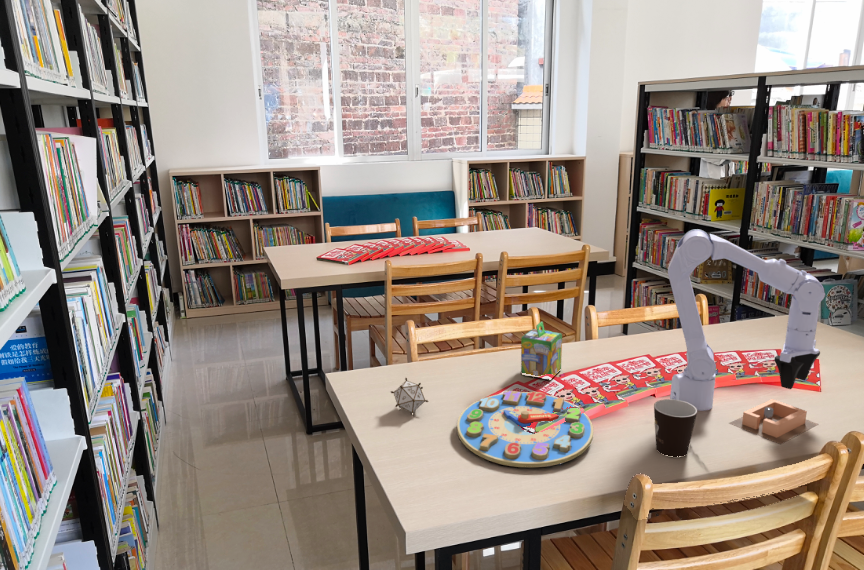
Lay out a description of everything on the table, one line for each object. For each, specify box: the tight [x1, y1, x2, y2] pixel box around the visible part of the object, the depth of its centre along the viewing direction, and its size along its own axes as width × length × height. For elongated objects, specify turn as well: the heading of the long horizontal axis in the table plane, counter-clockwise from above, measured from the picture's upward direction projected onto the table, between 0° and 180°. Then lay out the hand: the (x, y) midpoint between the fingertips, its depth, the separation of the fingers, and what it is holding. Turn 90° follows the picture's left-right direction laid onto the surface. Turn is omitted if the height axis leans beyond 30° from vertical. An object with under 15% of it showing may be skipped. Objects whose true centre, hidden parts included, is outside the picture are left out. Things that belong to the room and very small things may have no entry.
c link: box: [742, 398, 808, 438], centre depth 144 cm, size 12×8×3 cm, turn 123°
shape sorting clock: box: [456, 390, 594, 468], centre depth 143 cm, size 31×30×6 cm
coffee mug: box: [653, 398, 698, 458], centre depth 136 cm, size 12×9×10 cm
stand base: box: [729, 414, 819, 445], centre depth 145 cm, size 16×12×1 cm
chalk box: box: [520, 321, 563, 376], centre depth 177 cm, size 9×9×15 cm
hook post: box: [763, 407, 774, 420], centre depth 143 cm, size 2×2×4 cm
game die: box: [390, 377, 429, 414], centre depth 156 cm, size 9×8×10 cm
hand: (793, 383), depth 146 cm, fingers open, 7 cm apart
